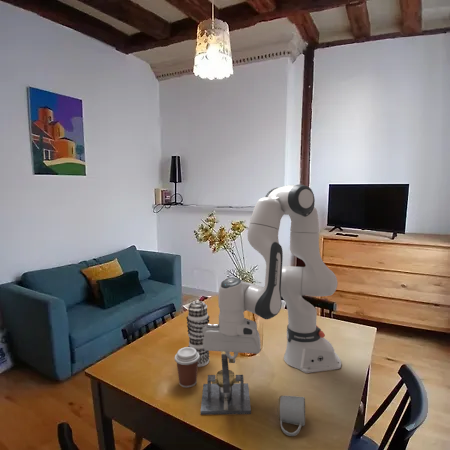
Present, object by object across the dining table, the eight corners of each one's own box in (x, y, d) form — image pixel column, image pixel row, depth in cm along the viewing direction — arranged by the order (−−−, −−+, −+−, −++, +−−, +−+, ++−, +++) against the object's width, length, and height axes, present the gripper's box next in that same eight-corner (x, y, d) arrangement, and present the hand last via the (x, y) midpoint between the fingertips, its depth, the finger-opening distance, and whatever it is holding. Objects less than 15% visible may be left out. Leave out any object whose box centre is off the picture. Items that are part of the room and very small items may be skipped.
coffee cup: (176, 375, 125) (175, 345, 124) (200, 374, 126) (199, 344, 124) (174, 390, 116) (173, 359, 115) (200, 389, 117) (199, 357, 115)
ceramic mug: (279, 410, 106) (279, 388, 105) (305, 414, 104) (305, 392, 103) (275, 435, 96) (275, 411, 95) (304, 440, 94) (305, 416, 92)
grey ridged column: (207, 368, 130) (205, 308, 126) (184, 366, 131) (182, 306, 128) (212, 356, 138) (211, 299, 135) (191, 354, 140) (190, 298, 137)
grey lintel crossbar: (211, 366, 120) (211, 351, 119) (237, 365, 120) (236, 350, 119) (211, 401, 101) (211, 384, 100) (241, 400, 101) (241, 383, 100)
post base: (248, 386, 118) (248, 365, 117) (250, 414, 104) (250, 390, 103) (203, 386, 118) (203, 365, 117) (200, 414, 104) (199, 390, 103)
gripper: (200, 327, 113) (201, 365, 114) (260, 330, 110) (260, 369, 112) (204, 319, 119) (204, 355, 121) (260, 322, 116) (260, 359, 118)
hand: (231, 362), depth 116 cm, fingers closed
